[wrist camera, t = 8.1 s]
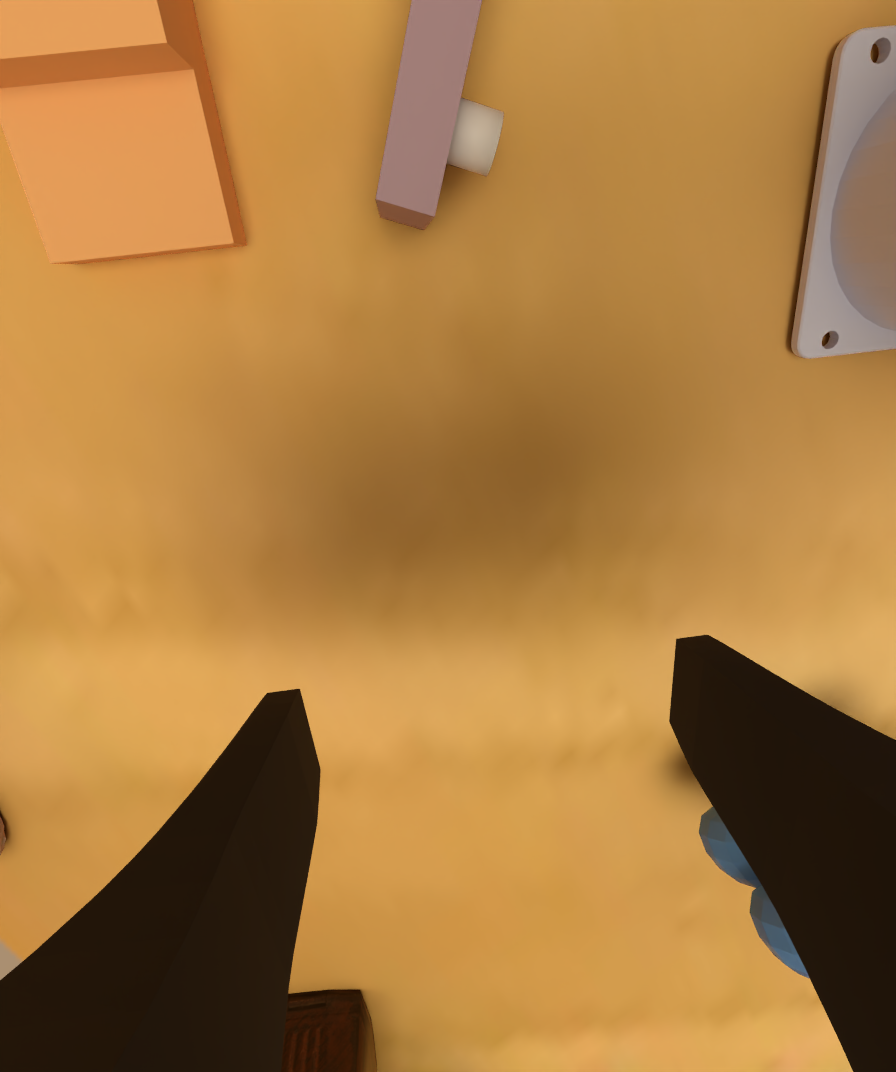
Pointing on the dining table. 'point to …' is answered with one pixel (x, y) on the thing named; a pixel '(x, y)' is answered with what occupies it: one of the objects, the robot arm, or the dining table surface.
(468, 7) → the door
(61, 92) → the orange brown block
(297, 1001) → the manual coffee grinder
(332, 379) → the dining table surface
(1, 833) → the brick
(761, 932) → the grapes
